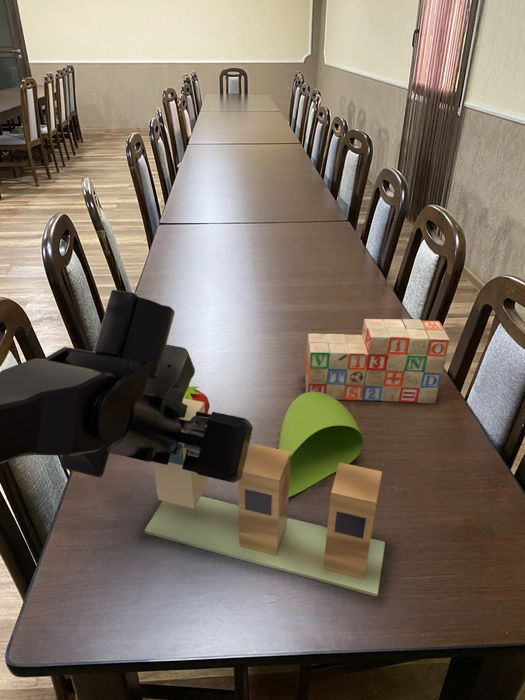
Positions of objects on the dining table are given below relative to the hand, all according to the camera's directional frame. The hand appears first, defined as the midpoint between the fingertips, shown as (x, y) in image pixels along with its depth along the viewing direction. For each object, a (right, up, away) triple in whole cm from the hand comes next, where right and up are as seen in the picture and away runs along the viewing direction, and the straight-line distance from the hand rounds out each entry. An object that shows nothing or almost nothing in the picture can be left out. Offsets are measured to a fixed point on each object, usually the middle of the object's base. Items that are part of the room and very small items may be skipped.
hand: (185, 440), depth 62 cm
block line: (+9, -12, +2) cm, 15 cm away
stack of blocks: (+27, +3, +29) cm, 40 cm away
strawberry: (-3, -2, +19) cm, 19 cm away
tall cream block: (-1, -6, +2) cm, 7 cm away
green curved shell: (+16, -5, +16) cm, 23 cm away
